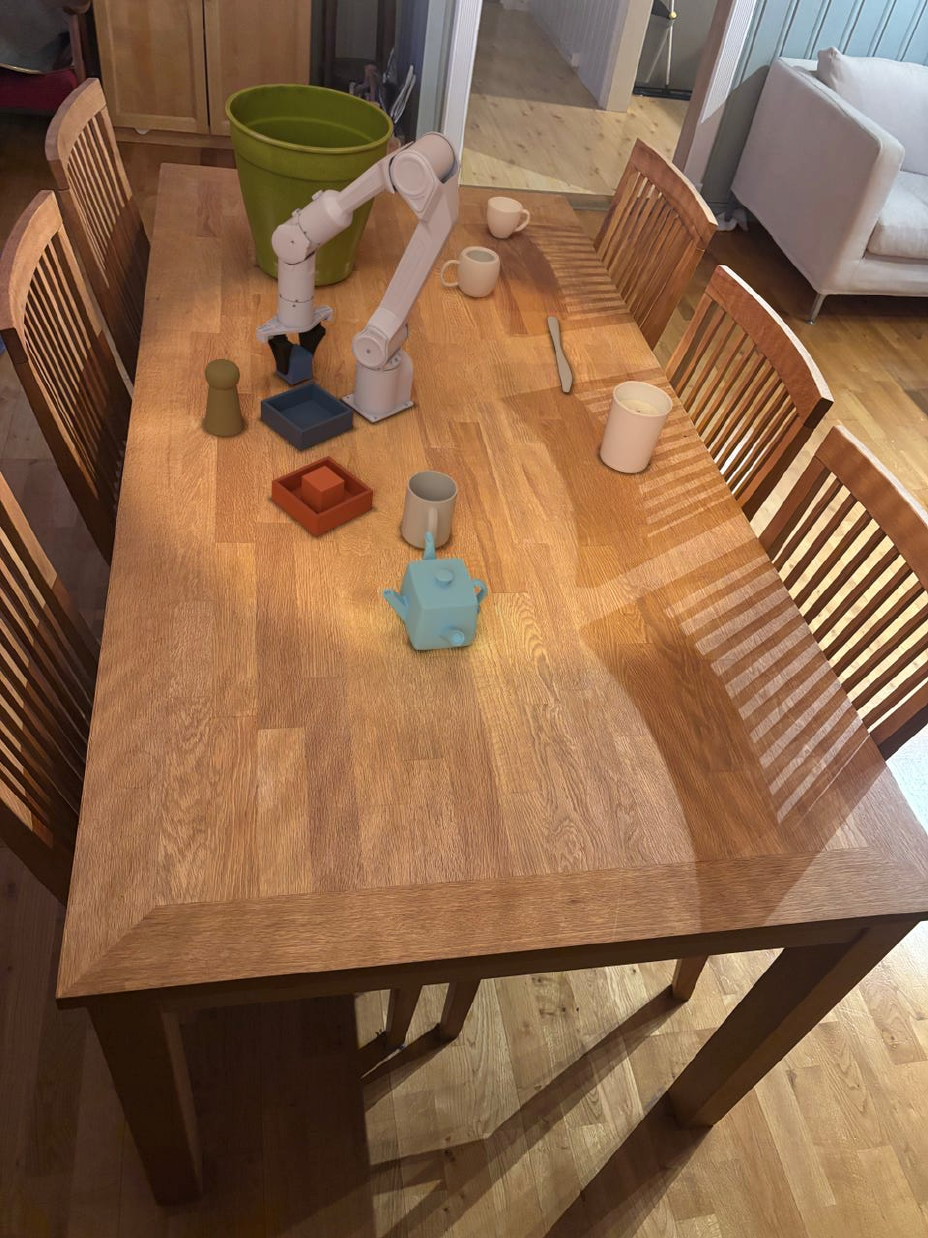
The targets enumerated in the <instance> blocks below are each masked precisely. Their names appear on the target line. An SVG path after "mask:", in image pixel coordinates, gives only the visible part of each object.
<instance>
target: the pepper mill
mask: <svg viewBox="0 0 928 1238" xmlns="http://www.w3.org/2000/svg"><path fill="white" fill-rule="evenodd" d="M240 372H241V371H240V368H239V366H238V365H237V364H236V363H235V362H234V361H232V360H229V359H225V358H217V359H213V360H211V361H209V362H208V363H207V365H206V366H205V368H204V378H205V381H206V383H207V384H208V388H207V397H206V404H205V405H206V406H205V414H204V415H205V416H204V423H203V425H204V429H206V431H207V432H208V433H210V434H212V435H215V436H218V437H231V436H235V435H237V434H239V433H241V432H242V431H243V429H244V421H243V415H242V410H241V409H242V408H241V403H240V397H239V391H238V384H239V382H240V378H241V373H240Z"/></svg>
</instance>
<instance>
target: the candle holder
mask: <svg viewBox="0 0 928 1238" xmlns="http://www.w3.org/2000/svg"><path fill="white" fill-rule="evenodd" d="M673 407H674V403H673V400H672V398H671V396H670V395H669V394H668V393H667V392H666V391H665V390H663V389H662V388H660V387H658V386H656V385H654V384H652V383H648V382H643V381H640V380H639V381H637V380H630V381H628V380H627V381H623V382H620V383H619V384H616V385H615V387H614V388H613V389H612V396H611V401H610V405H609V409H608V414H607V418H606V422H605V426H604V430H603V435H602V440H601V444H600V448H599V455H600V456H599V457H600V459H601V461H602V462H603V463H604V464H605V465H606V466H608V467H609V468H611V469H613V470H615V471H618V472H621V473H626V474H636V473H639V472H642V471H644V470H645V469H646V468H647V466H648V464H649V463H650V460H651V458H652V456H653V453H654V451H655V449H656V447H657V444H658V443H659V439H660V437H661V435H662V432H663V430H664V427H665V426H666V423H667V420H668V418H669V416H670V414H671V412H672V410H673Z"/></svg>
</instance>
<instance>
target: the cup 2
mask: <svg viewBox="0 0 928 1238" xmlns="http://www.w3.org/2000/svg"><path fill="white" fill-rule="evenodd" d="M523 214H525V220H524V221H523V222H522V223H521V224H520V221H521V217H522V216H523ZM485 218H486V223H487V227H488V230H489V231H490V234H491V235H492V236H493V237H495V238H497V239H508V238H509V237H510V236H511V235H512V234H513V233H517V232H520V231H522V230H523V229H525V228H526V227H527V226H528V225H529V223H530V221H531V213H530V211H529V210H528V209H525V208H523V205H522V204H521V202H519V201H517V200H516V199H514V198H511V197H507V196H492V197H491V198H488V201H487V206H486V217H485ZM519 224H520V225H519Z"/></svg>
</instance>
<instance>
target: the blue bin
mask: <svg viewBox="0 0 928 1238" xmlns="http://www.w3.org/2000/svg"><path fill="white" fill-rule="evenodd" d="M354 411H355V410H354V409H353V408H352V407H350V406H349V405H347V404H346V403H345V402H343V401H342V400H340V399H338V397H335V395H333V394H331V393H330V392H329V391H328V390H326V389H325V388H323V387H322V386H321V385H319V384H318V383H316V382H315V381H314V380H311V381H310V382H307V383H303V384H301V385H299V386H295V387H294V388H291V389H288V390H286V391H283V392H280V393H278V394H275V395H272V396H270V397H268V398H265V399H262V400H260V420H261V421H262V422H263V423H264V424H266V425H267V426H268V427H270V428H271V429H272V430H273V431H274V432H276V433H277V434H279V435H280V436H282V438H284V439H285V441H287V442H289V443H290V444H291V445H292V446H293V447H295V448H296V449H298V450H299V451H301V452H302V451H304V450H307V449H309V448H311V447H313V446H316V445H318V444H320V443H323V442H326V441H327V440H330V439H331V438H334V437H336V436H337V437H338V436H339V435H342V434H343V433H346V432H348V431H351V430H353V426H354V425H353V424H354Z"/></svg>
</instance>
